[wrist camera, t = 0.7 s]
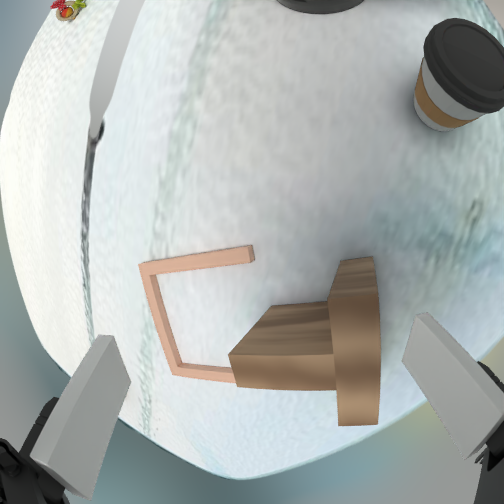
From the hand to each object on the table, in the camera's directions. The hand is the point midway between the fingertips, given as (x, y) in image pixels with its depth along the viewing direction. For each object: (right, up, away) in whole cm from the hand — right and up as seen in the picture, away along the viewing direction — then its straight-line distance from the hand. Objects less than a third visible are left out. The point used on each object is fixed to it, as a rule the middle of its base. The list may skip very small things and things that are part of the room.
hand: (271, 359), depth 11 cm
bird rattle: (-50, +73, +32) cm, 94 cm away
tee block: (+9, -4, +24) cm, 26 cm away
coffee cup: (+21, +21, +13) cm, 33 cm away
